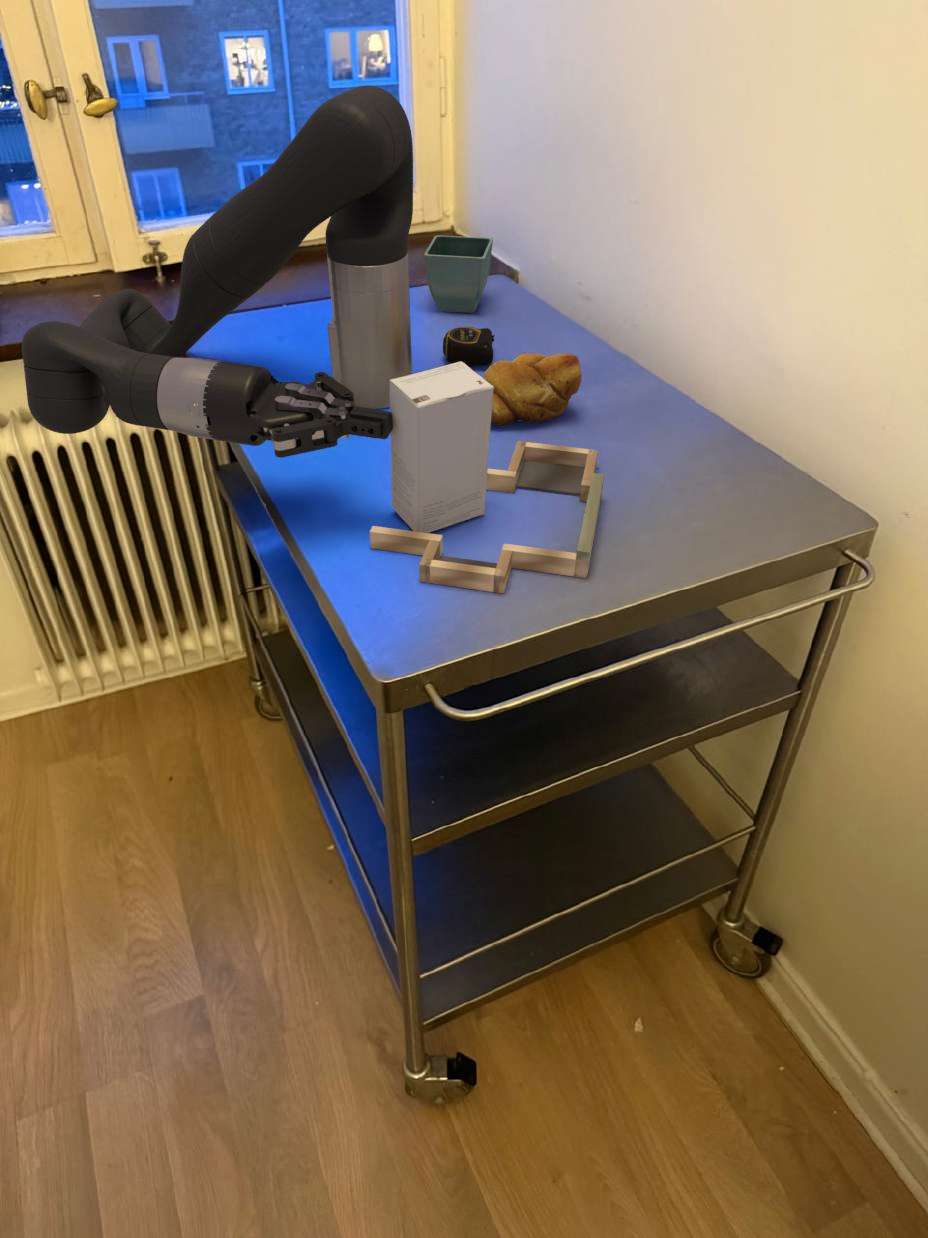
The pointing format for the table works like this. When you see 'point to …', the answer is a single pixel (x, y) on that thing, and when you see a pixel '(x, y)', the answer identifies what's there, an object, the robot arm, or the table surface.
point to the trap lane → (526, 471)
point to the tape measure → (469, 346)
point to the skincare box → (440, 446)
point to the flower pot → (458, 271)
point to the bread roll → (532, 387)
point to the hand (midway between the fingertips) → (390, 425)
